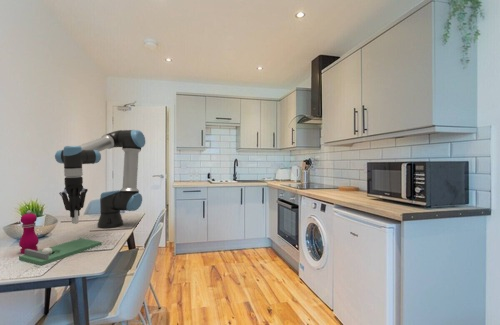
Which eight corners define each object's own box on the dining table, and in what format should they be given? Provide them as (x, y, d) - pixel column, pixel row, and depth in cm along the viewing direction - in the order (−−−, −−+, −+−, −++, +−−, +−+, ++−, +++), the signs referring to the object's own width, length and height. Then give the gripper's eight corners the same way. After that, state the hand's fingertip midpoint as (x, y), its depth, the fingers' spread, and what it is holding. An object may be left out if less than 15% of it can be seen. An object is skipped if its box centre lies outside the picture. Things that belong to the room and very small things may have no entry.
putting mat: (80, 241, 141) (80, 233, 140) (101, 244, 135) (101, 237, 134) (18, 259, 115) (18, 250, 115) (41, 265, 109) (41, 256, 109)
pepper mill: (16, 252, 124) (15, 210, 123) (34, 247, 130) (34, 208, 130) (23, 255, 120) (22, 212, 120) (41, 250, 127) (41, 209, 126)
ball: (47, 246, 121) (38, 249, 117) (54, 246, 120) (45, 248, 116) (48, 255, 120) (39, 258, 117) (54, 254, 119) (46, 257, 115)
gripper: (81, 175, 136) (82, 219, 137) (54, 177, 124) (56, 225, 125) (91, 175, 133) (92, 220, 134) (64, 178, 121) (66, 227, 122)
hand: (75, 223), depth 130 cm, fingers closed
